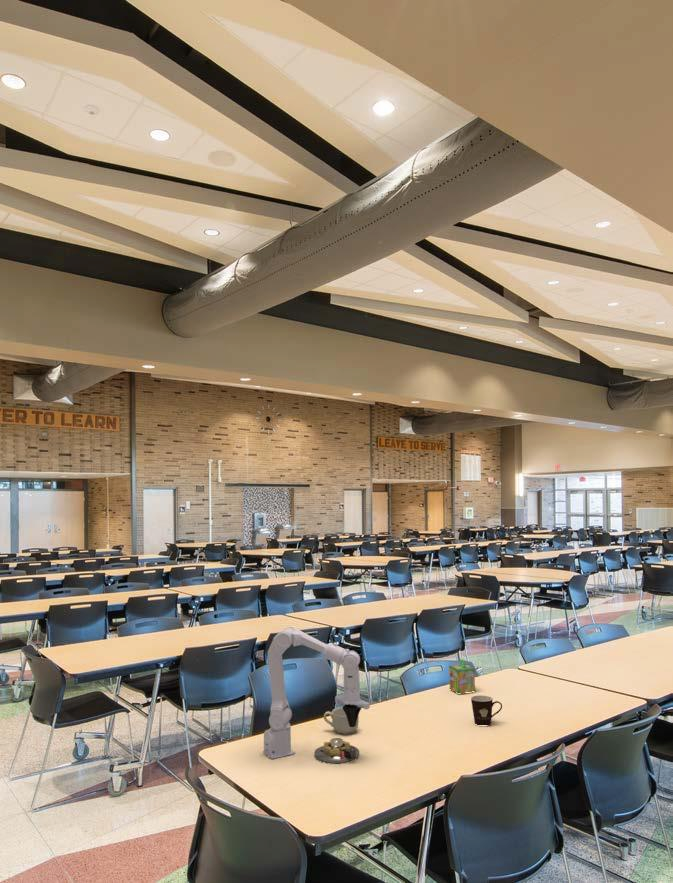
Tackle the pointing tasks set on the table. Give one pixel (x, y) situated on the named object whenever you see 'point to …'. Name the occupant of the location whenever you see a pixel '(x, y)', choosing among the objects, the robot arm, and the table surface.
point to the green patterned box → (462, 678)
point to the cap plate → (334, 759)
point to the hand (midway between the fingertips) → (352, 726)
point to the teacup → (340, 721)
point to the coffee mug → (483, 709)
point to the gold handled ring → (339, 750)
